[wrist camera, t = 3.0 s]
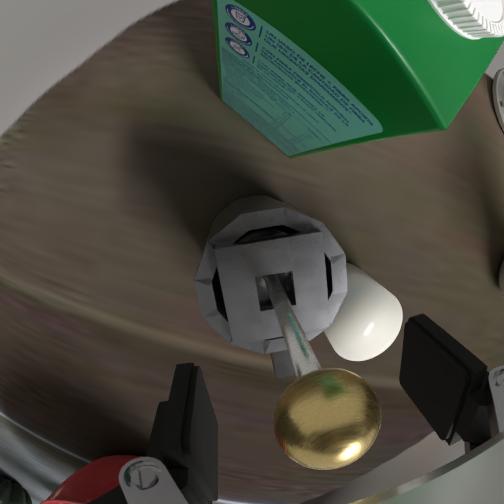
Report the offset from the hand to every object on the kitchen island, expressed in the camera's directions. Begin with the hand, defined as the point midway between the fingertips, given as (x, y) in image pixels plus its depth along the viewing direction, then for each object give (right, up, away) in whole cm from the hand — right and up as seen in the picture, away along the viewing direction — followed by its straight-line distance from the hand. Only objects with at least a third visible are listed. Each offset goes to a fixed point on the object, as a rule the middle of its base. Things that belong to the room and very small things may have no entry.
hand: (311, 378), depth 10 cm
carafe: (-1, +4, +21) cm, 21 cm away
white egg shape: (+7, 0, +23) cm, 24 cm away
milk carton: (+1, +19, +17) cm, 26 cm away
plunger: (-1, +3, +12) cm, 13 cm away
